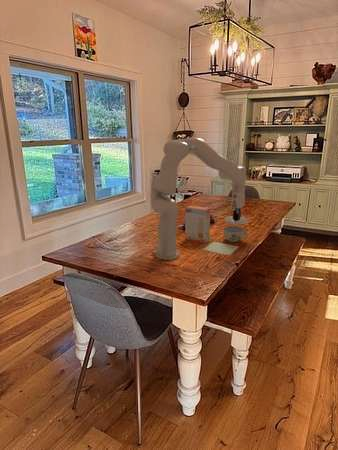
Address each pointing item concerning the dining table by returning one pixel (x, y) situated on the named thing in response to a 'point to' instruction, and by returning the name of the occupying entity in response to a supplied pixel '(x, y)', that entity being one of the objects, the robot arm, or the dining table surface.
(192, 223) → the cracker box
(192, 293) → the dining table surface
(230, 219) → the lid
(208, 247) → the mat
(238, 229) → the teacup
